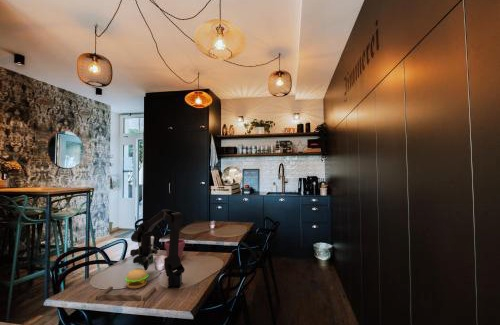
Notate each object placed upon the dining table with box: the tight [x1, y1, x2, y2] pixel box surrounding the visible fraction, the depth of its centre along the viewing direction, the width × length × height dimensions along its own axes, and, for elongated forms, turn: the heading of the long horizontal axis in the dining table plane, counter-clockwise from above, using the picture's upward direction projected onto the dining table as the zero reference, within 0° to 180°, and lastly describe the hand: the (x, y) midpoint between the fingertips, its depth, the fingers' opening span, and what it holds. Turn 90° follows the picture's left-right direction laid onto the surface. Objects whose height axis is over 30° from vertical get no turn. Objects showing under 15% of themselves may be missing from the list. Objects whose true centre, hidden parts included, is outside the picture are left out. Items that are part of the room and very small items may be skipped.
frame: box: [95, 286, 157, 302], centre depth 130 cm, size 26×11×2 cm, turn 85°
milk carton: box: [137, 236, 155, 266], centre depth 176 cm, size 9×9×20 cm
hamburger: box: [124, 268, 150, 290], centre depth 141 cm, size 12×12×9 cm
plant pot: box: [164, 238, 186, 260], centre depth 184 cm, size 14×14×13 cm
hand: (145, 270), depth 151 cm, fingers closed
